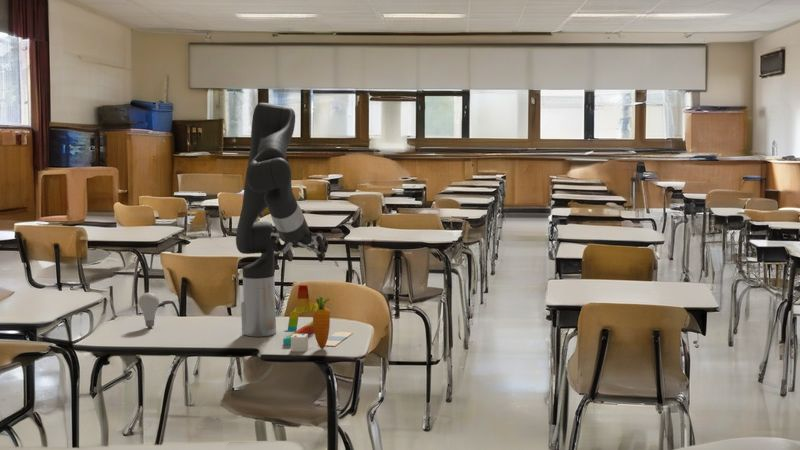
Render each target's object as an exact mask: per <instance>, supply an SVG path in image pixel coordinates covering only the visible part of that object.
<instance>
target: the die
mask: <svg viewBox="0 0 800 450" xmlns="http://www.w3.org/2000/svg"><path fill="white" fill-rule="evenodd" d="M308 349H309V335H308V334H293V335H292V336H291V345H290V351H291V352H307V350H308Z"/></svg>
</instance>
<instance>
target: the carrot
mask: <svg viewBox="0 0 800 450" xmlns="http://www.w3.org/2000/svg"><path fill="white" fill-rule="evenodd" d="M323 298H324V296H323V295H320V296H319V297H316V298H315V301H316V303H317V304H318V306H319V308H316V309H314V310H313V311H312V321H313V326H314V332H313V333H314V337H315V340H316V343H317V346H318V345H319V346H318V347H319V348H320V349H321V350H323V349H325V347H326V346H325V345H326V342H327V339H328V338H329V333H330V328H331V327H330V323H331V319H330V318H331V313H330V312H331V311H330V309H329V308H328V309H327V307H325V304H326V303H327V302H329V300H331V299H330V298H326V299H323ZM323 300H324V301H323Z"/></svg>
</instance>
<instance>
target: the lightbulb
mask: <svg viewBox="0 0 800 450" xmlns="http://www.w3.org/2000/svg"><path fill="white" fill-rule="evenodd" d="M159 305H160V300H159V296H158V295H156V293H154V292H145V293H143V294H141V296H140V297H139V299H138V306H139V308H140V311H142V314H143V318H144V323H145V327H147V328H149V329H152V328H153V327H154V326H155V319H156V312H157V310H158V308H159Z"/></svg>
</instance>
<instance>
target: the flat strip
mask: <svg viewBox="0 0 800 450" xmlns="http://www.w3.org/2000/svg"><path fill="white" fill-rule="evenodd" d="M353 334H354V332H347V331H344V332H343V331H336V332H334V333H333V334H332V335H330V336H328V339H327V342H326V345H325V347H336V346H338V345H339V344H341V343H342V342H343V341H345V340H346V339H348V338H349V337H350V336H352V335H353ZM317 346H318V347H319V345H318V344H317Z"/></svg>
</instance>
